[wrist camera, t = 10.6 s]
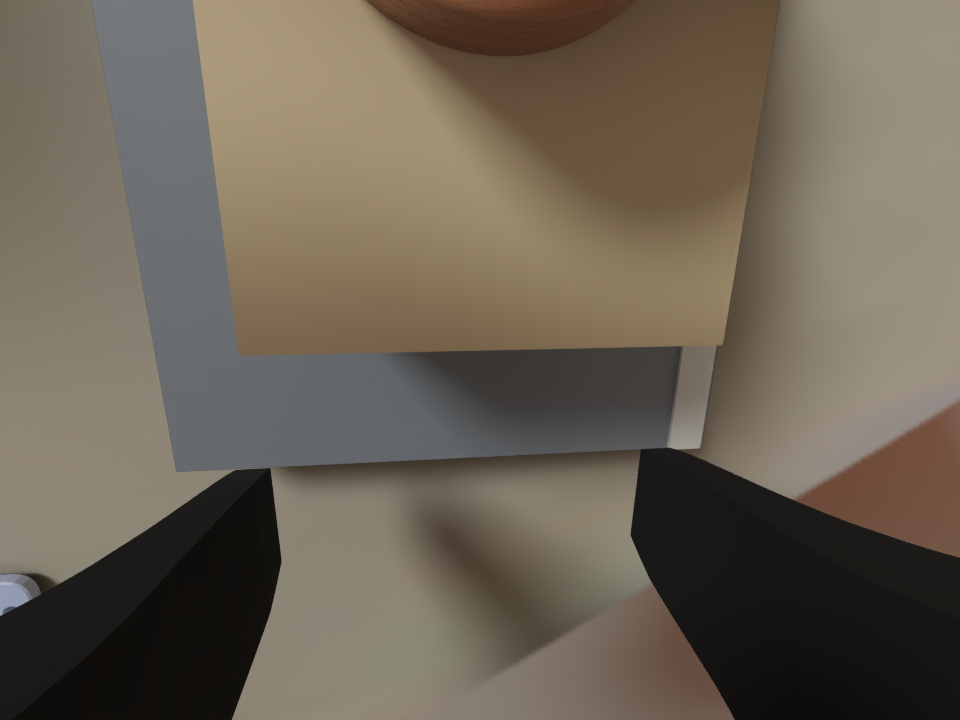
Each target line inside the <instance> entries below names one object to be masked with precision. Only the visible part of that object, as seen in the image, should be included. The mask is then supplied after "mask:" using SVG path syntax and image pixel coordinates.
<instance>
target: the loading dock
mask: <svg viewBox="0 0 960 720" xmlns="http://www.w3.org/2000/svg"><path fill="white" fill-rule="evenodd" d="M91 2H92V8H93V14H94V19H95V25H96V30H97V36H98V41H99V47H100V52H101V58H102V63H103V69H104V74H105V80H106V85H107V91H108V97H109V102H110V108H111V113H112V119H113V124H114V130H115V135H116V141H117V146H118V152H119V157H120V163H121V168H122V174H123V179H124V185H125V191H126V196H127V202H128V207H129V213H130V218H131V224H132V229H133V235H134V240H135V246H136V251H137V257H138V262H139V268H140V274H141V279H142V285H143V290H144V296H145V301H146V307H147V312H148V318H149V323H150V329H151V334H152V340H153V345H154V351H155V357H156V362H157V368H158V373H159V379H160V384H161V390H162V395H163V401H164V406H165V412H166V417H167V423H168V428H169V434H170V439H171V445H172V451H173V456H174V462H175V467H176V472H187V471H207V470H228V469H248V468H268V467H289V466H309V465H330V464H350V463H371V462H391V461H411V460H432V459H452V458H473V457H493V456H513V455H534V454H554V453H575V452H595V451H616V450H636V449H651V448H673V449H676V450H677V449H698V448H700V446H702V440H703V434H704V428H705V422H706V416H707V410H708V404H709V398H710V391H711V385H712V379H713V373H714V367H715V361H716V355H717V349H718V345H713V346H667V347H622V348H576V349H530V350H485V351H439V352H394V353H348V354H303V355H257V356H239V354H238V347H237V339H236V331H235V324H234V316H233V308H232V301H231V293H230V285H229V277H228V270H227V262H226V254H225V247H224V239H223V231H222V223H221V216H220V208H219V200H218V193H217V185H216V177H215V169H214V162H213V154H212V146H211V139H210V131H209V123H208V116H207V108H206V100H205V92H204V85H203V77H202V69H201V62H200V54H199V46H198V38H197V31H196V23H195V15H194V8H193V0H91Z"/></svg>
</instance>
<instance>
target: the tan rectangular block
mask: <svg viewBox="0 0 960 720" xmlns="http://www.w3.org/2000/svg"><path fill="white" fill-rule="evenodd" d="M779 4H780V0H636V1H635V2H634V3H633V4H631V5H630V6H629V7H628V8H627V9H625V10H624V11H623V12H622V13H621V14H619V15H618V16H617V17H616V18H614V19H613V20H611V21H610V22H608V23H607V24H605V25H604V26H602V27H601V28H599V29H598V30H596V31H595V32H593V33H591V34H589V35H587V36H585V37H583V38H581V39H579V40H577V41H575V42H573V43H571V44H568V45H565V46H562V47H559V48H555V49H552V50H549V51H546V52H541V53H535V54H529V55H523V56H486V55H479V54H472V53H465V52H462V51H458V50H455V49H451V48H448V47H445V46H441V45H438V44H436V43H434V42H432V41H429V40H427V39H425V38H423V37H420V36H418V35H416V34H414V33H412V32H410V31H409V30H407V29H405V28H404V27H402V26H401V25H399V24H397V23H396V22H394V21H393V20H391V19H389V18H388V17H386V16H385V15H384V14H383V13H381V12H380V11H379V10H378V9H377V8H375V7H374V6H373V5H372V4H371V3H369V2H368V1H367V0H193V8H194V15H195V23H196V31H197V38H198V46H199V54H200V62H201V69H202V77H203V85H204V92H205V100H206V108H207V116H208V123H209V131H210V139H211V146H212V154H213V162H214V169H215V177H216V185H217V193H218V200H219V208H220V216H221V223H222V231H223V239H224V247H225V254H226V262H227V270H228V277H229V285H230V293H231V301H232V308H233V316H234V324H235V331H236V339H237V347H238V354H239V356H257V355H303V354H348V353H394V352H439V351H485V350H530V349H576V348H622V347H667V346H713V345H723V341H724V335H725V329H726V323H727V317H728V311H729V305H730V299H731V293H732V287H733V281H734V275H735V269H736V263H737V257H738V251H739V245H740V239H741V233H742V227H743V221H744V215H745V209H746V203H747V197H748V191H749V185H750V178H751V172H752V166H753V160H754V154H755V148H756V142H757V136H758V130H759V124H760V118H761V112H762V106H763V100H764V94H765V88H766V82H767V76H768V70H769V64H770V58H771V52H772V46H773V40H774V34H775V28H776V22H777V16H778V10H779Z"/></svg>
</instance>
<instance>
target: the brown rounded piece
mask: <svg viewBox="0 0 960 720" xmlns="http://www.w3.org/2000/svg"><path fill="white" fill-rule="evenodd" d="M367 1H368V2H369V3H371V4H372V5H373V6H374V7H375V8H377V9H378V10H379V11H380V12H381V13H383V14H384V15H385V16H386V17H388V18H389V19H391V20H393V21H394V22H396V23H397V24H399V25H401V26H402V27H404V28H405V29H407V30H409V31H410V32H412V33H414V34H416V35H418V36H420V37H423V38H425V39H427V40H429V41H432V42H434V43H436V44H438V45H441V46H445V47H448V48H451V49H455V50H458V51H462V52H465V53H472V54H479V55H486V56H523V55H529V54H535V53H541V52H546V51H549V50H552V49H555V48H559V47H562V46H565V45H568V44H571V43H573V42H575V41H577V40H579V39H581V38H583V37H585V36H587V35H589V34H591V33H593V32H595V31H596V30H598V29H599V28H601V27H602V26H604V25H605V24H607V23H608V22H610V21H611V20H613V19H614V18H616V17H617V16H618V15H619V14H621V13H622V12H623V11H624V10H625V9H627V8H628V7H629V6H630V5H631V4H633V3H634V2H635V1H636V0H367Z"/></svg>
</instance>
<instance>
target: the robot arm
mask: <svg viewBox="0 0 960 720" xmlns="http://www.w3.org/2000/svg"><path fill="white" fill-rule="evenodd" d="M631 537H632V540H633V542H634V545H635V547H636V549H637V552H638V554H639V556H640V559H641V561H642V563H643V565H644V567H645V569H646V572H647V574H648V576H649V578H650V580H651V582H652V583H653V585H654V587H655V588H656V590H657V592H658V593H659V595H660V597H661V598H662V600H663V602H664V603H665V605H666V607H667V608H668V610H669V611H670V613H671V614H672V616H673V618H674V619H675V621H676V623H677V624H678V626H679V627H680V629H681V631H682V632H683V634H684V635H685V637H686V639H687V640H688V642H689V643H690V645H691V647H692V648H693V650H694V652H695V653H696V655H697V656H698V658H699V660H700V661H701V663H702V664H703V666H704V668H705V669H706V671H707V672H708V674H709V675H710V677H711V679H712V680H713V682H714V683H715V685H716V687H717V689H718V690H719V692H720V694H721V696H722V697H723V699H724V701H725V703H726V704H727V706H728V708H729V710H730V711H731V713H732V715H733V717H734V719H735V720H960V558H959V557H955V556H952V555H948V554H944V553H941V552H937V551H934V550H931V549H927V548H924V547H921V546H917V545H914V544H911V543H907V542H905V541H902V540H899V539H896V538H893V537H890V536H887V535H884V534H881V533H878V532H875V531H872V530H869V529H866V528H863V527H860V526H857V525H855V524H852V523H849V522H846V521H844V520H841V519H839V518H836V517H833V516H831V515H828V514H826V513H823V512H821V511H818V510H816V509H813V508H811V507H808V506H806V505H804V504H801V503H799V502H796V501H794V500H792V499H789V498H787V497H785V496H782V495H780V494H778V493H775V492H773V491H771V490H768V489H766V488H764V487H762V486H759V485H757V484H755V483H753V482H751V481H748V480H746V479H744V478H742V477H740V476H737V475H735V474H733V473H731V472H729V471H726V470H724V469H722V468H720V467H717V466H715V465H713V464H711V463H709V462H706V461H704V460H702V459H699V458H697V457H695V456H692V455H690V454H687V453H685V452H682V451H679V450H676V449H673V448H651V449H641V453H640V462H639V470H638V478H637V486H636V495H635V503H634V511H633V519H632V528H631ZM281 562H282V561H281V552H280V544H279V536H278V528H277V519H276V511H275V503H274V495H273V486H272V478H271V470H270V468H265V469H245V470H235V471H233V472H231V473H230V474H228V475H226V476H225V477H223V478H222V479H220V480H218V481H217V482H216V483H214V484H213V485H211V486H210V487H208V488H207V489H205V490H204V491H202V492H201V493H200V494H198V495H197V496H195V497H194V498H193V499H191V500H190V501H188V502H187V503H185V504H184V505H182V506H181V507H180V508H178V509H177V510H175V511H174V512H172V513H171V514H169V515H168V516H167V517H165V518H164V519H162V520H161V521H159V522H158V523H156V524H155V525H154V526H152V527H151V528H149V529H148V530H146V531H145V532H143V533H141V534H140V535H138V536H137V537H135V538H134V539H132V540H130V541H129V542H127V543H126V544H124V545H123V546H121V547H119V548H118V549H116V550H115V551H113V552H112V553H110V554H108V555H107V556H105V557H104V558H102V559H101V560H99V561H97V562H96V563H94V564H93V565H91V566H90V567H88V568H86V569H84V570H83V571H81V572H79V573H78V574H76V575H74V576H73V577H71V578H69V579H67V580H66V581H64V582H62V583H60V584H59V585H57V586H55V587H53V588H52V589H50V590H48V591H46V592H44V593H42V594H41V593H40V590H39V587H38V585H37V584H36V582H35V581H34V580H33V579H31V578H30V577H27V576H25V575H20V574H7V575H0V720H232V717H233V715H234V712H235V709H236V706H237V704H238V701H239V698H240V695H241V693H242V690H243V687H244V684H245V682H246V679H247V676H248V674H249V671H250V668H251V665H252V663H253V660H254V657H255V654H256V651H257V649H258V646H259V643H260V640H261V637H262V635H263V632H264V629H265V626H266V623H267V620H268V618H269V615H270V611H271V607H272V603H273V599H274V594H275V590H276V585H277V581H278V576H279V571H280V566H281Z"/></svg>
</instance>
